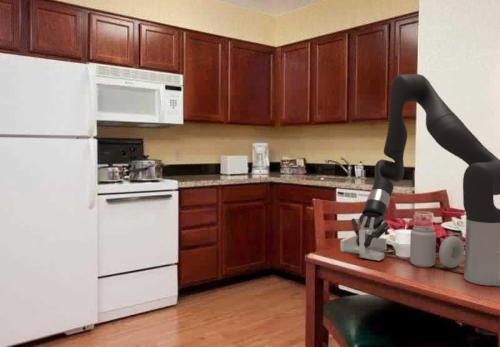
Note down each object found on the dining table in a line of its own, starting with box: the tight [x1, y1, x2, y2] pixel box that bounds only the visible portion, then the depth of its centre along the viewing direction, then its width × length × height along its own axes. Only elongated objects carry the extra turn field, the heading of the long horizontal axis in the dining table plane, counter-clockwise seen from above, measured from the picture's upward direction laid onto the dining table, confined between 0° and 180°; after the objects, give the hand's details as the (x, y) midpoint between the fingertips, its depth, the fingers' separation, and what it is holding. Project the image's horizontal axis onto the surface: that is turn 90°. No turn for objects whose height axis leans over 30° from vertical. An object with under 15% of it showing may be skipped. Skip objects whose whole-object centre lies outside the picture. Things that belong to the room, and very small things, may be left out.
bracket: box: [358, 227, 386, 261], centre depth 141 cm, size 7×4×10 cm, turn 51°
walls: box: [339, 234, 388, 253], centre depth 152 cm, size 12×12×4 cm
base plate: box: [343, 245, 386, 255], centre depth 151 cm, size 11×11×1 cm
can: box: [409, 225, 437, 268], centre depth 134 cm, size 8×8×12 cm
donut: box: [438, 235, 465, 269], centre depth 130 cm, size 10×3×10 cm, turn 121°
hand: (362, 245), depth 141 cm, fingers closed on bracket, 2 cm apart
